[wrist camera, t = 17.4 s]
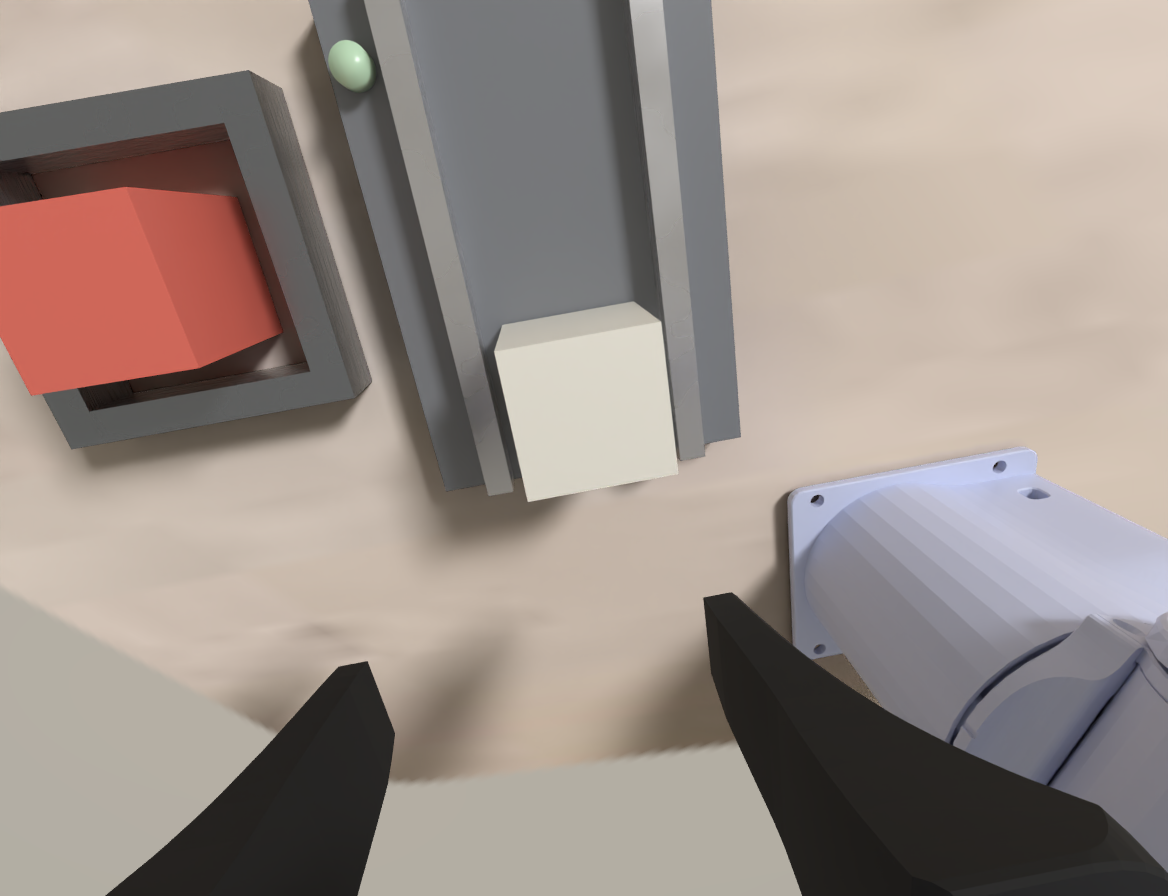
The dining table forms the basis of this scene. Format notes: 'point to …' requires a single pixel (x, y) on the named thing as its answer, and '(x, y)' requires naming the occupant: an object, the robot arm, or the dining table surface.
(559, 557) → the dining table surface
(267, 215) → the grey square frame
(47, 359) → the red block
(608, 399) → the block
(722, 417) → the breaker panel
